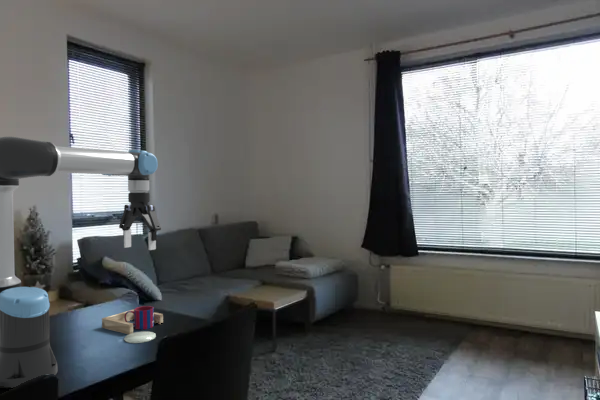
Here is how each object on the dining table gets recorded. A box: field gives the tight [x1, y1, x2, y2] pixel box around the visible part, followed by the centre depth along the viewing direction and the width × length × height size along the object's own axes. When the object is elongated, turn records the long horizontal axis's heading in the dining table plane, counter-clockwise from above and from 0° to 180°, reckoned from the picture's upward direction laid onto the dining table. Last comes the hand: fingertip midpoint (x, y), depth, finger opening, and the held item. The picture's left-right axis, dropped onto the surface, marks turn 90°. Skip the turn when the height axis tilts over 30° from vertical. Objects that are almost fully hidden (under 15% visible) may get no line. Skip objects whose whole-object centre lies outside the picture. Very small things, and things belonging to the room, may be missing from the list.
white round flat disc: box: [123, 331, 157, 344], centre depth 152 cm, size 10×10×1 cm
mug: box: [124, 305, 155, 331], centre depth 164 cm, size 7×10×7 cm
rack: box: [101, 308, 164, 335], centre depth 166 cm, size 15×15×4 cm
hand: (139, 248), depth 169 cm, fingers open, 13 cm apart
